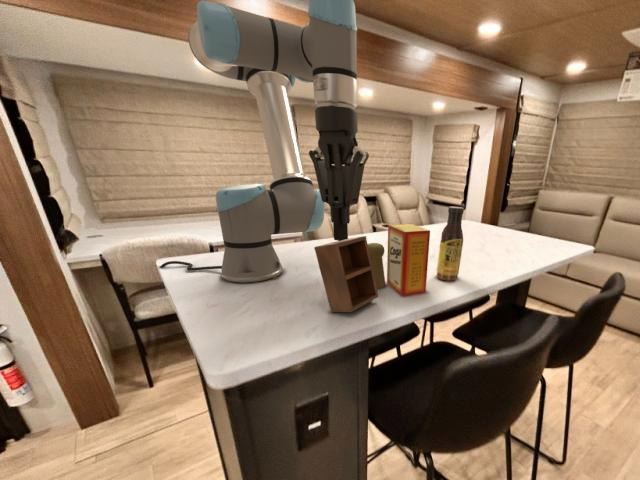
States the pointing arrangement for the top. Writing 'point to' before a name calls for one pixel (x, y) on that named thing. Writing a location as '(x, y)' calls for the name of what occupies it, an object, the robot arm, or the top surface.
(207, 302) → the top surface
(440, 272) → the sauce bottle
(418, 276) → the baking soda box
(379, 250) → the cork
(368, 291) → the walnut shelf
